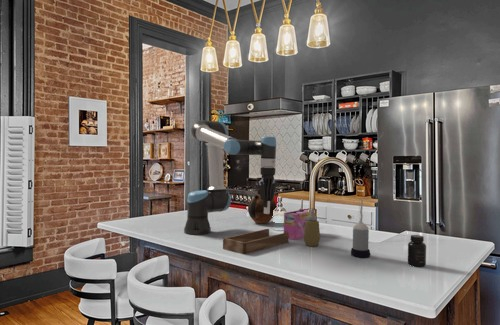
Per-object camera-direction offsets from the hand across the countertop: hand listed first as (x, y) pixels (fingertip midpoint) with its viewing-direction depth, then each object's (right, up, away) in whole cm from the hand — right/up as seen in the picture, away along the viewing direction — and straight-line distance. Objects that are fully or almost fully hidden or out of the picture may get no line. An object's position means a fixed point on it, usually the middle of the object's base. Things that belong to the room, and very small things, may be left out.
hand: (266, 213), depth 185 cm
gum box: (+20, -15, +19) cm, 31 cm away
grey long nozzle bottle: (+41, -16, -22) cm, 49 cm away
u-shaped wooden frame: (-5, -15, -6) cm, 17 cm away
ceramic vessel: (0, -14, +56) cm, 58 cm away
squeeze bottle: (+22, -15, -4) cm, 27 cm away
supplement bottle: (+60, -16, -35) cm, 71 cm away
